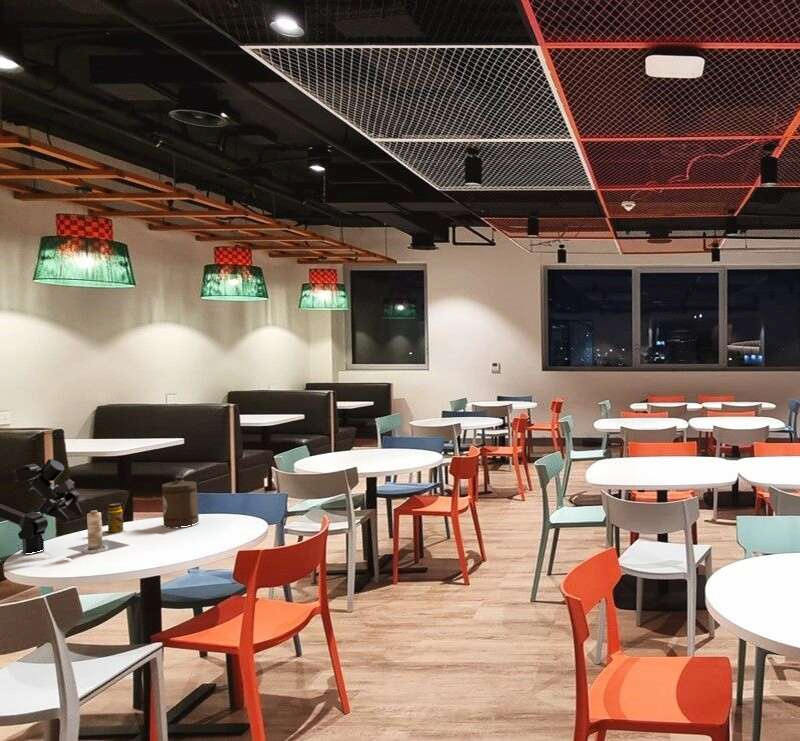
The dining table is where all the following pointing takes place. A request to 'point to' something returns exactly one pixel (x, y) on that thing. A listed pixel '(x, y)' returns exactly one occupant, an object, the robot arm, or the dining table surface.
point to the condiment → (114, 519)
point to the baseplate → (106, 547)
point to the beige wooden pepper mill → (94, 530)
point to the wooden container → (180, 503)
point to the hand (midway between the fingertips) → (74, 517)
